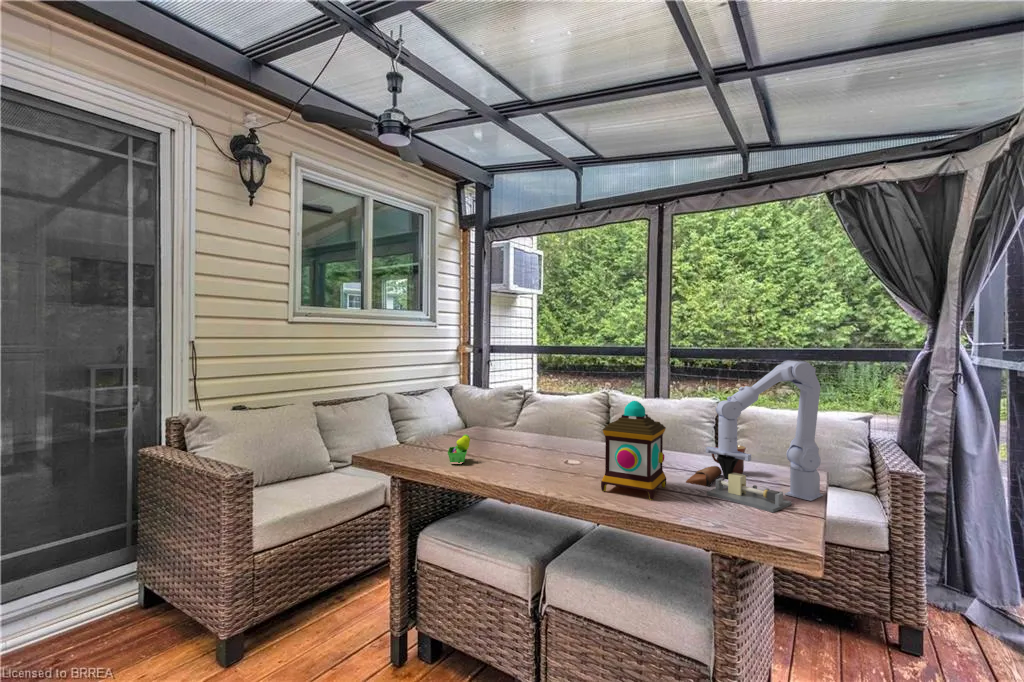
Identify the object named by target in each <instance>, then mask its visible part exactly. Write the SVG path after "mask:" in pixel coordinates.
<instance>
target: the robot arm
mask: <svg viewBox="0 0 1024 682" xmlns="http://www.w3.org/2000/svg"><path fill="white" fill-rule="evenodd" d="M816 371H817V369H816V368H815V366H813V365H812V364H811V363H809V362H808V361H803V360H798V361H797V360H792V359H788V360H783V362H781V363H780V364H778V365H776V366H775V367H774V368H773V369H772V370H771V371H770V372H768V373H767V374H765V375H764V376H763V377H762V378H760V379H759V380H758V381H756V383H754V384H753V385H752V386H747V385H745V386H740V387H739V388H738V391H737V392H735V393H734V394H732V395H731V396H730V395H729V396H726V399H725V400H721V401H719V402H718V403H717V405H716V407H715V413H716V414H717V415H718V423H717V424H718V429H717V431H718V436H717V437H718V438H717V439H718V442H717V443H718V446H717V447H718V448H715V447H716V446H714V447H713V446H706V447H705V453H706V454H711V455H712V454H714V455H716V456H717V455H718V456H717V457H716V459H717V460H718V462H719V463H718V464H719V465H720V466H719V467H720V469H721V471H722V475H723V480H727V481H728V474H731V473H732V472H733V470H734V467H735V465H736V463H737V462H738V460H739V459H741V460H744V462H751V461H752V454H750V453H743V452H739V451H737V445H738V418H740V416H741V415H742V412H743V411H745V410H746V409H747V408H748V407H751V405H753V404H755V403H756V402H757V401H758V400H759V395H760V394H762V393H764V392H765V391H766V390H768V389H770V388H772V386H775V385H777V383H779V382H789V381H790V382H792V384H794V385H795V386H796V387H797V388H798V389H799V390H800V391H799V399H798V408H797V418H796V427H795V435H794V436H795V437H793V439H792V440H791V441H790V444H789V447H788V449H787V450H786V453H785V454H786V459H787V460H788V462H790V463H789V464H790V465H789V467H790V470H789V472H790V474H789V484H790V485H789V491H787V492H785V493H784V495H786V496H789V497H793V498H797V499H800V500H801V499H802V500H806V501H815V500H816V499H817V500H818V498H821V497H823V496H824V494H823V493H821V491H820V490H821V487H820V486H821V484H820V483H821V482H820V481H821V475H820V473H819V471H818V470H817V469H818V468H819V467H820V466H821V456H820V454H819V453H820V448H819V447H818V445H817V443H816V441H815V439H816V432H817V431H816V429H817V421H818V413H819V412H818V411H819V403H820V395H821V394H820V393H821V384H820V382H819V379H818V377H817V375H816Z"/></svg>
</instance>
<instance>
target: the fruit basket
mask: <svg viewBox="0 0 1024 682" xmlns="http://www.w3.org/2000/svg"><path fill="white" fill-rule="evenodd" d="M470 442H471V438H470V435H469V434H463V435H462V436H461V437H460V438H459V439H457V440H456V445H455V446H451V447H448V450H447V455H448V459H449V462H458V463H460V462H464V463H465V461H466V459H465V458H466V456H467V452H468V449H469V448H470V444H471V443H470Z"/></svg>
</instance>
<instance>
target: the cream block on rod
mask: <svg viewBox="0 0 1024 682" xmlns="http://www.w3.org/2000/svg"><path fill="white" fill-rule="evenodd" d="M727 482H728V493H732V494H736V495H740V496H741V495H742V493H743V494H746V491H744V490H742V486H746V487H747V475H746V474H744V473H743V474H738V473H731V474H728V480H727Z"/></svg>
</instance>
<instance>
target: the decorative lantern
mask: <svg viewBox="0 0 1024 682" xmlns="http://www.w3.org/2000/svg"><path fill="white" fill-rule="evenodd" d="M666 429H667V428H666V426H665V425H664V424H662V423H661V422H660V421H655V419H653V418H651V416H648V413H647V414H646V408H645V406H643V404H642V403H641V402H640V401H637V400H632V401H630V402H628V403H627V404H626V406H625V407H624V409H623V414H621V416H619V418H618V419H616V420H614V421H611V422H609V423H608V424H607V425H605V426H604V427H603V429H602V434H604V437H605V455H604V456H605V463H604V465H605V468H604V469H605V470H604V475H603V476H602V479H601V481H600V490H601V491H602V492H603V491H605V492H606V491H607V485H610V486H616V487H621V488H628V489H633V490H639V491H645V492H647V493H648V498H649V500H650V501H653V500H654V497H655V491H656V490H657V489H658V488H659V487H660V486H661V487H662V488H666V486H667V477H666V474H665V473H664V470H663V463H664V462H665V454H664V453H663V439H664V438H663V436H664V434H665V431H666Z"/></svg>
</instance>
